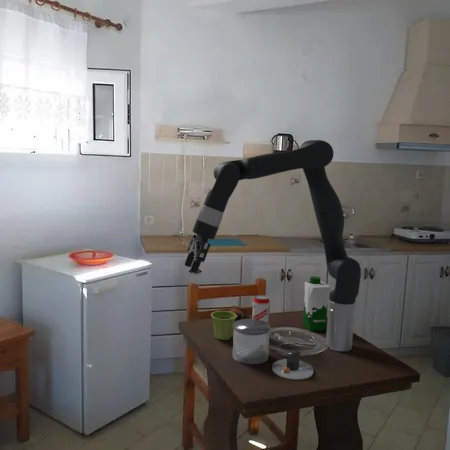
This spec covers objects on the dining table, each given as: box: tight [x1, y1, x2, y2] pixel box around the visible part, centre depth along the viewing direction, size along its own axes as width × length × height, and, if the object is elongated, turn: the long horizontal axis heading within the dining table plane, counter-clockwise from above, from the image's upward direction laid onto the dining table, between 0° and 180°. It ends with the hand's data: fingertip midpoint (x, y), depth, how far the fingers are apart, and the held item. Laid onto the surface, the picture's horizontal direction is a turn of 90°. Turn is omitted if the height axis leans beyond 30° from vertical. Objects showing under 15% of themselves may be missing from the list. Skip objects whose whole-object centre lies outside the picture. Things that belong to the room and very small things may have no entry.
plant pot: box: [210, 310, 238, 341], centre depth 180 cm, size 9×9×9 cm
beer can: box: [251, 294, 271, 324], centre depth 180 cm, size 6×6×16 cm
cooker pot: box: [232, 318, 272, 365], centre depth 164 cm, size 13×13×11 cm
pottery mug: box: [227, 305, 251, 322], centre depth 194 cm, size 12×10×8 cm
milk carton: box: [302, 276, 332, 332], centre depth 193 cm, size 9×9×20 cm
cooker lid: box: [271, 349, 314, 381], centre depth 155 cm, size 13×13×6 cm
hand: (190, 269), depth 156 cm, fingers open, 8 cm apart
